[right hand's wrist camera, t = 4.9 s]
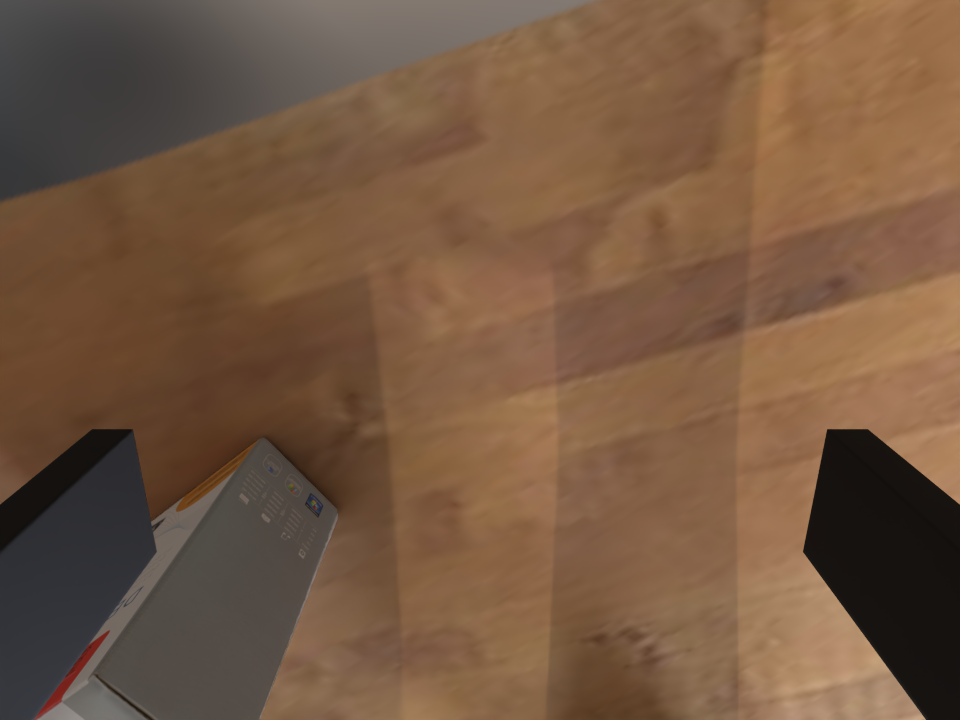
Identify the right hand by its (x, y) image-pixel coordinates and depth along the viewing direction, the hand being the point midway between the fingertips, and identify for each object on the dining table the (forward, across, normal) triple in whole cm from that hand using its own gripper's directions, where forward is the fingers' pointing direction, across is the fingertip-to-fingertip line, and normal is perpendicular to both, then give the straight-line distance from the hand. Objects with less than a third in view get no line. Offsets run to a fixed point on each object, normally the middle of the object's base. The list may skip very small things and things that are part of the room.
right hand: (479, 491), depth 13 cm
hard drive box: (+28, +18, +20) cm, 39 cm away
